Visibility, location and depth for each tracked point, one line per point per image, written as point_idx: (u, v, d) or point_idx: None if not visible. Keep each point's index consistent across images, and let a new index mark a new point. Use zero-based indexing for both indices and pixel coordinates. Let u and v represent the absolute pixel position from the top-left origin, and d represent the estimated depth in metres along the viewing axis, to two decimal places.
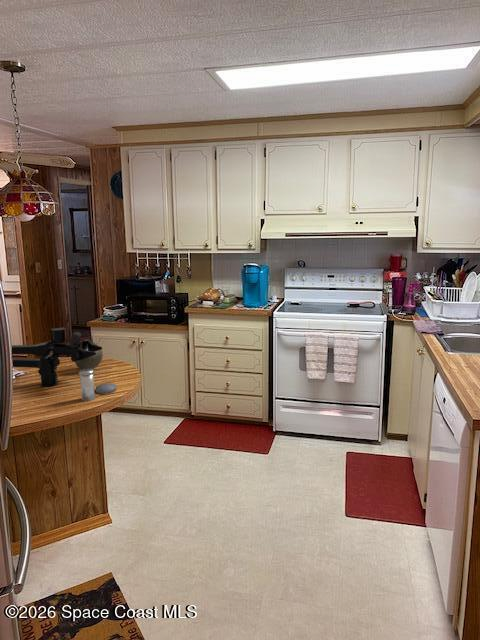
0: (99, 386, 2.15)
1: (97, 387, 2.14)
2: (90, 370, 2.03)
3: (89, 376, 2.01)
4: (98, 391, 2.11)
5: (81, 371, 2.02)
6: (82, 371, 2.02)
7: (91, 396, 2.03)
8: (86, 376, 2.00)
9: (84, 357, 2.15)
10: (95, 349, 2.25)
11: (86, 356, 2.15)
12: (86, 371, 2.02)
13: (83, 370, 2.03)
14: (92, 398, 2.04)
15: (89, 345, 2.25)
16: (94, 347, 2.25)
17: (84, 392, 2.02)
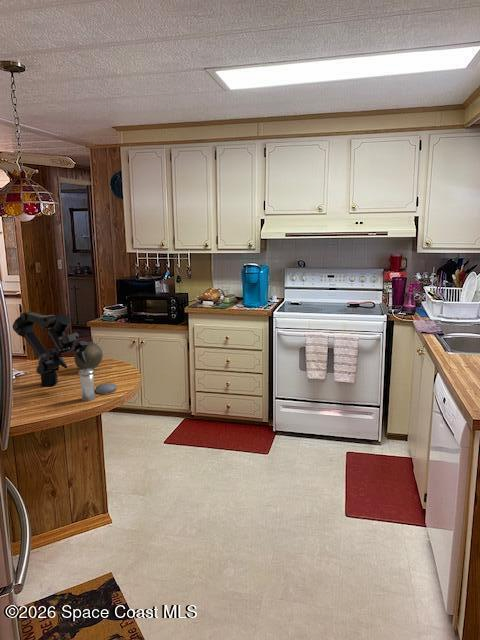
0: (99, 386, 2.15)
1: (97, 387, 2.14)
2: (90, 370, 2.03)
3: (89, 376, 2.01)
4: (98, 391, 2.11)
5: (81, 371, 2.02)
6: (82, 371, 2.02)
7: (91, 396, 2.03)
8: (86, 376, 2.00)
9: (57, 362, 2.05)
10: (81, 358, 2.12)
11: (59, 363, 2.05)
12: (86, 371, 2.02)
13: (83, 370, 2.03)
14: (92, 398, 2.04)
15: (80, 350, 2.13)
16: (81, 356, 2.12)
17: (84, 392, 2.02)
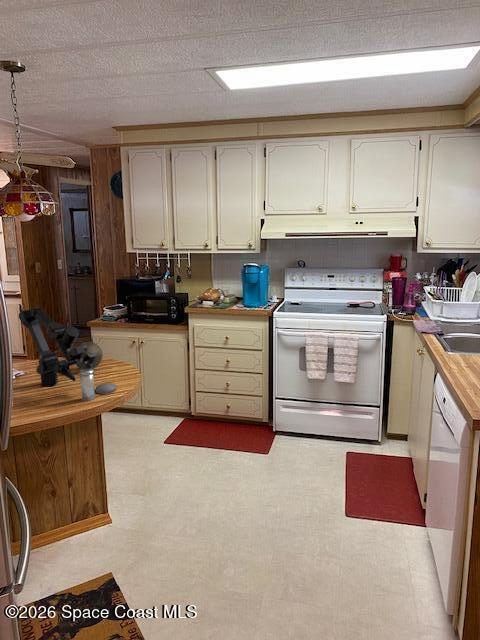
0: (99, 386, 2.15)
1: (97, 387, 2.14)
2: (90, 370, 2.03)
3: (89, 376, 2.01)
4: (98, 391, 2.11)
5: (81, 371, 2.02)
6: (82, 371, 2.02)
7: (91, 396, 2.03)
8: (86, 376, 2.00)
9: (65, 374, 2.02)
10: None
11: (67, 375, 2.02)
12: (86, 371, 2.02)
13: (83, 370, 2.03)
14: (92, 398, 2.04)
15: (88, 362, 2.10)
16: (89, 368, 2.09)
17: (84, 392, 2.02)
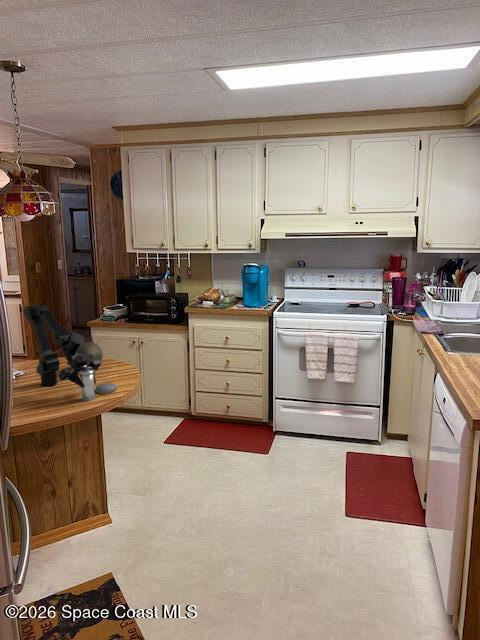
0: (99, 386, 2.15)
1: (97, 387, 2.14)
2: (90, 370, 2.03)
3: (89, 376, 2.01)
4: (98, 391, 2.11)
5: (81, 371, 2.02)
6: (82, 371, 2.02)
7: (91, 396, 2.03)
8: (86, 376, 2.00)
9: (73, 381, 2.02)
10: None
11: (75, 382, 2.02)
12: (86, 371, 2.02)
13: (83, 370, 2.03)
14: (92, 398, 2.03)
15: None
16: None
17: (84, 392, 2.02)
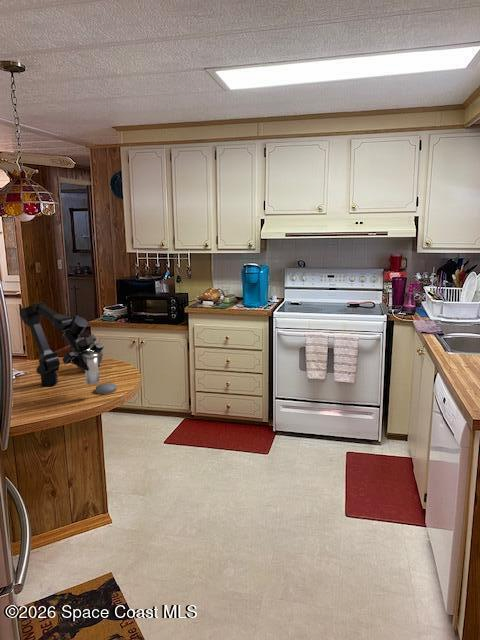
0: (99, 386, 2.15)
1: (97, 387, 2.14)
2: (94, 353, 2.04)
3: (94, 359, 2.02)
4: (98, 391, 2.11)
5: (85, 354, 2.03)
6: (87, 354, 2.03)
7: (96, 379, 2.04)
8: (91, 359, 2.01)
9: (77, 364, 2.02)
10: None
11: (79, 365, 2.02)
12: (91, 354, 2.03)
13: (88, 354, 2.03)
14: (96, 381, 2.05)
15: None
16: None
17: (89, 375, 2.03)
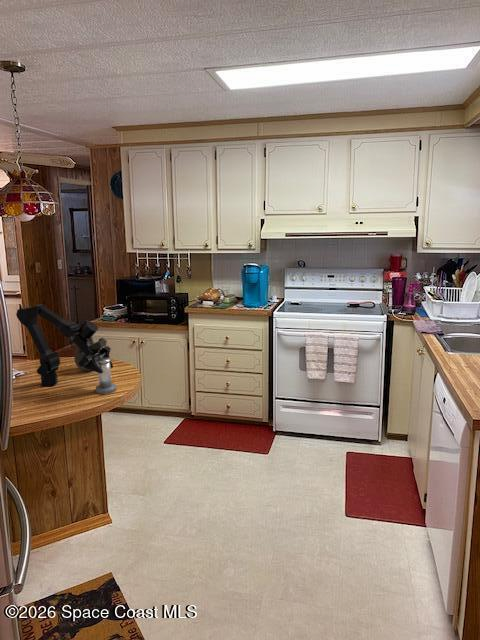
0: None
1: (97, 387, 2.14)
2: (107, 358, 2.13)
3: (108, 364, 2.11)
4: (98, 391, 2.11)
5: (99, 360, 2.10)
6: (100, 360, 2.11)
7: (110, 383, 2.13)
8: (106, 364, 2.10)
9: (90, 368, 2.08)
10: None
11: (92, 369, 2.08)
12: (104, 359, 2.11)
13: (100, 359, 2.12)
14: (110, 385, 2.14)
15: (105, 355, 2.17)
16: None
17: (104, 380, 2.11)
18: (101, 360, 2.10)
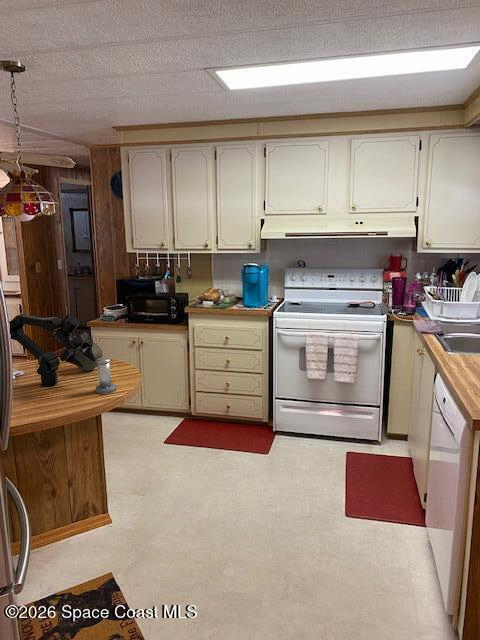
0: None
1: (97, 387, 2.14)
2: (107, 358, 2.13)
3: (108, 364, 2.11)
4: (98, 391, 2.11)
5: (99, 360, 2.10)
6: (100, 360, 2.11)
7: (110, 383, 2.13)
8: (106, 364, 2.10)
9: (71, 362, 2.10)
10: (89, 357, 2.20)
11: (74, 362, 2.10)
12: (104, 359, 2.11)
13: (100, 359, 2.12)
14: (110, 385, 2.14)
15: (88, 349, 2.20)
16: (90, 355, 2.19)
17: (104, 380, 2.11)
18: (101, 360, 2.10)
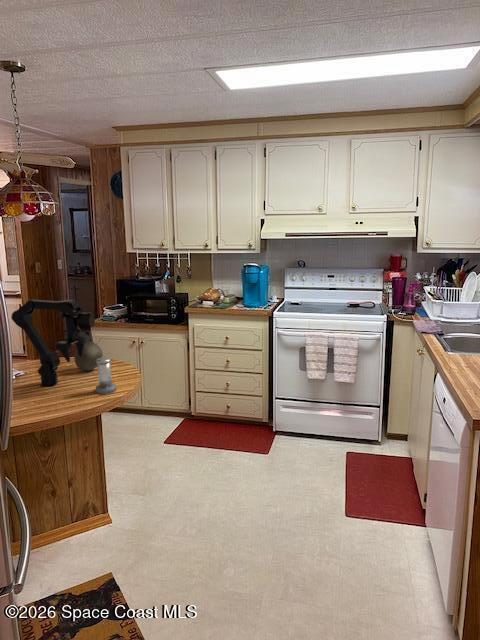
0: None
1: (97, 387, 2.14)
2: (107, 358, 2.13)
3: (108, 364, 2.11)
4: (98, 391, 2.11)
5: (99, 360, 2.11)
6: (100, 360, 2.11)
7: (110, 383, 2.13)
8: (106, 364, 2.10)
9: (62, 352, 2.14)
10: (78, 350, 2.24)
11: (63, 354, 2.14)
12: (104, 359, 2.11)
13: (101, 359, 2.12)
14: (110, 385, 2.14)
15: (82, 344, 2.23)
16: (80, 349, 2.24)
17: (104, 380, 2.11)
18: (101, 360, 2.10)
